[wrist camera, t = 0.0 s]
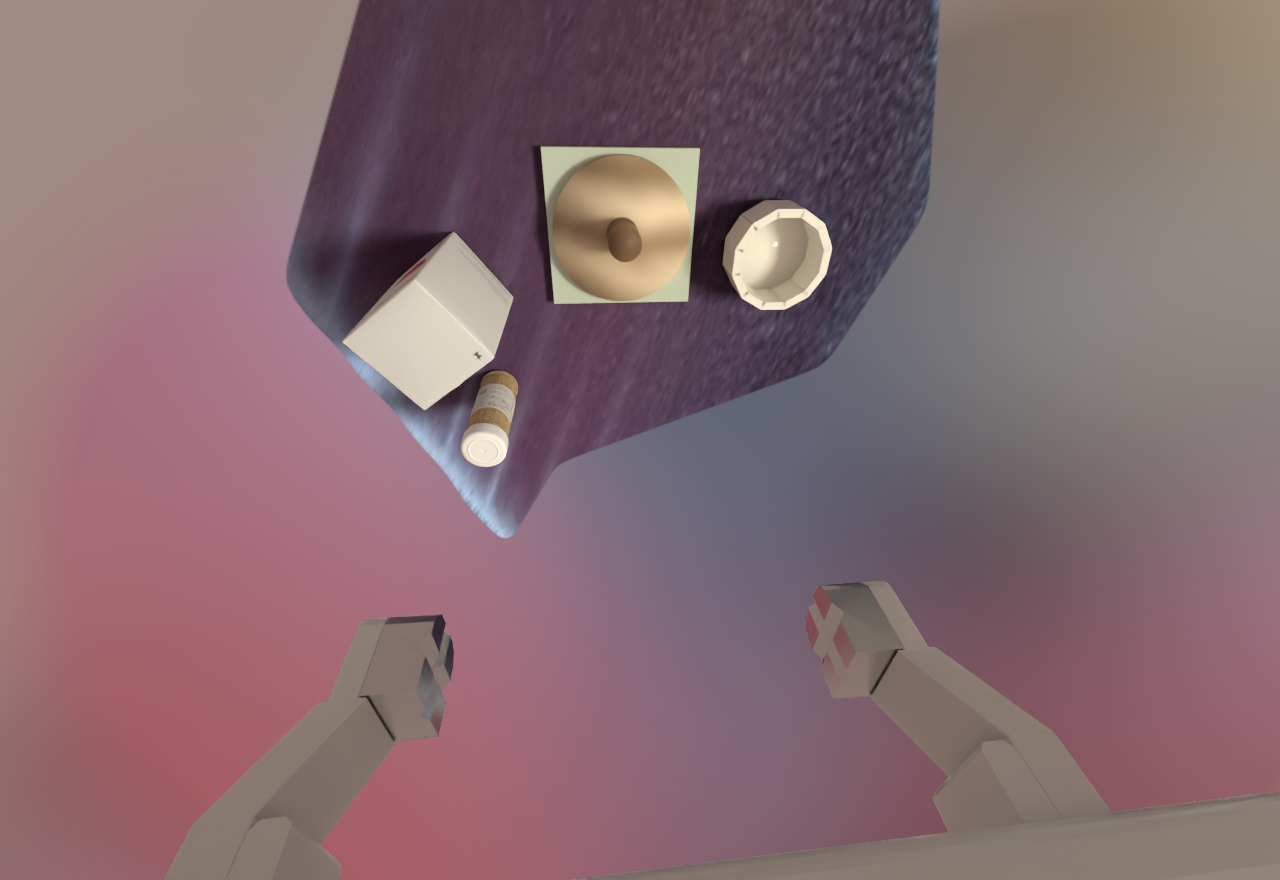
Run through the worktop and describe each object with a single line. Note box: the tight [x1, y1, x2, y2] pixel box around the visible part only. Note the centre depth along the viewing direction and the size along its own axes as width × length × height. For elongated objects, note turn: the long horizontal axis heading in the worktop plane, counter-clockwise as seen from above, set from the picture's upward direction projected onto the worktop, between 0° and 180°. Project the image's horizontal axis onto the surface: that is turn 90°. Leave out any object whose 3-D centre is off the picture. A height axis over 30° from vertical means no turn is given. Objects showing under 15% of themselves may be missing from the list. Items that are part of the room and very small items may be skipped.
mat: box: [541, 146, 700, 304], centre depth 51 cm, size 15×15×1 cm
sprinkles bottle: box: [461, 370, 518, 467], centre depth 55 cm, size 5×5×13 cm
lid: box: [552, 154, 690, 301], centre depth 49 cm, size 14×14×5 cm
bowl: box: [723, 200, 832, 310], centre depth 52 cm, size 10×10×5 cm
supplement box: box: [342, 232, 513, 410], centre depth 47 cm, size 9×9×15 cm
